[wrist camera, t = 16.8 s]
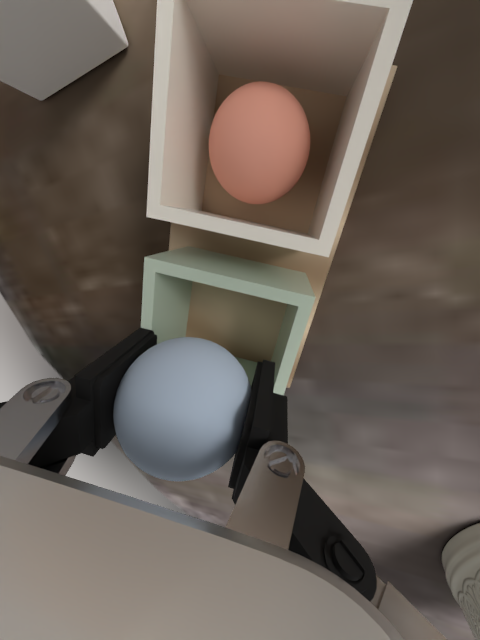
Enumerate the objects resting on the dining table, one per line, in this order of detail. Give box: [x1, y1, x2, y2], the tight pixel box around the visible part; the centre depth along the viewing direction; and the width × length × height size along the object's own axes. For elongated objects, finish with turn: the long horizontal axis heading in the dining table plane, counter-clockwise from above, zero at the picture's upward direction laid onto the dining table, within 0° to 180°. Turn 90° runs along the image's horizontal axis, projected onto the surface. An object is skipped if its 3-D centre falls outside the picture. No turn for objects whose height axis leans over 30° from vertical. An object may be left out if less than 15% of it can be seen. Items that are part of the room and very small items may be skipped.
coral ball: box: [209, 81, 310, 204], centre depth 13 cm, size 5×5×5 cm
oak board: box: [169, 65, 397, 388], centre depth 17 cm, size 20×11×1 cm, turn 168°
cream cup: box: [146, 0, 413, 257], centre depth 12 cm, size 8×8×6 cm
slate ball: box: [113, 337, 251, 481], centre depth 10 cm, size 5×5×5 cm
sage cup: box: [141, 246, 316, 395], centre depth 16 cm, size 8×8×6 cm
